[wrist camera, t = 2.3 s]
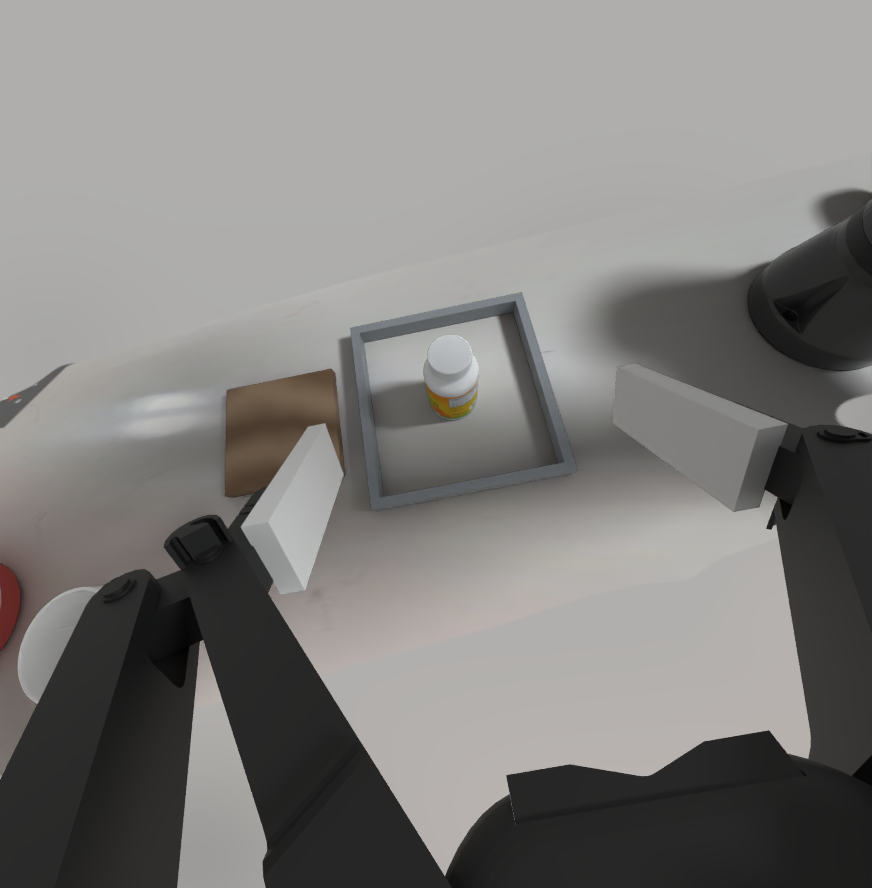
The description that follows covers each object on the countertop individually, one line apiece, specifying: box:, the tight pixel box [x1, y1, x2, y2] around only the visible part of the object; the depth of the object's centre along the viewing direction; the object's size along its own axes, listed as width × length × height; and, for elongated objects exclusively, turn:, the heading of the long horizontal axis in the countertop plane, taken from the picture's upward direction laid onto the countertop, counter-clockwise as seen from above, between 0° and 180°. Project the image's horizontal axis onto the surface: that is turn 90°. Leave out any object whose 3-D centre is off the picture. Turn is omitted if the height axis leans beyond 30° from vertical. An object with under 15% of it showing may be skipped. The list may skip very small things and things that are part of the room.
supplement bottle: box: [423, 335, 479, 420], centre depth 34 cm, size 5×5×10 cm
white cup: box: [18, 586, 103, 704], centre depth 29 cm, size 8×8×10 cm
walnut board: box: [225, 369, 345, 498], centre depth 38 cm, size 13×13×1 cm
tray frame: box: [350, 292, 577, 511], centre depth 37 cm, size 22×21×2 cm
